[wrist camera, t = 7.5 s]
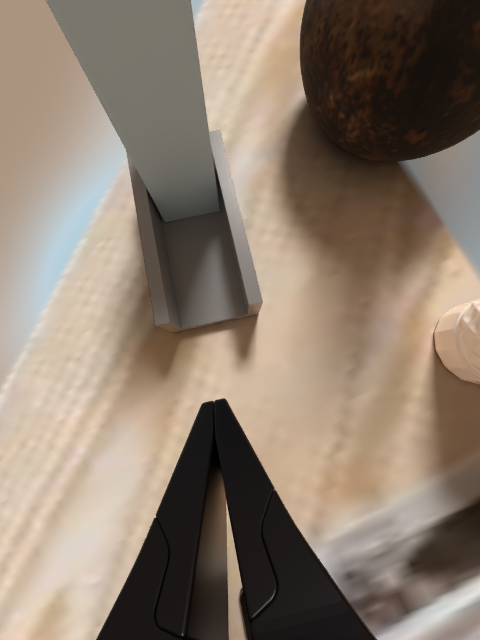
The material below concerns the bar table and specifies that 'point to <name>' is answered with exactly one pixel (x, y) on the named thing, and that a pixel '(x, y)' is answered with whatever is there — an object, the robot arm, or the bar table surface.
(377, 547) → the bar table surface
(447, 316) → the white cup
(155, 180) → the block
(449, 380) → the bar table surface
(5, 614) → the bar table surface
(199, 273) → the chute
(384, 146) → the dark brown round-bodied bottle
